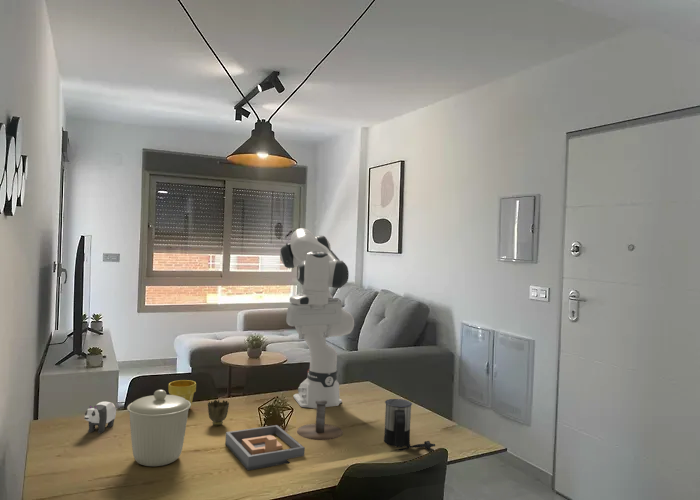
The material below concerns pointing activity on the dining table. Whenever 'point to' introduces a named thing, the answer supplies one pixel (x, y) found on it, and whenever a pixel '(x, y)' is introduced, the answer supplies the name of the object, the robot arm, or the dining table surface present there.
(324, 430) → the stand
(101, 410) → the giant panda
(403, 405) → the milk frother
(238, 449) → the tray
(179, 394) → the plant pot
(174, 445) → the canister
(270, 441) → the tabbed ring
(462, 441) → the dining table surface
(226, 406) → the cup
